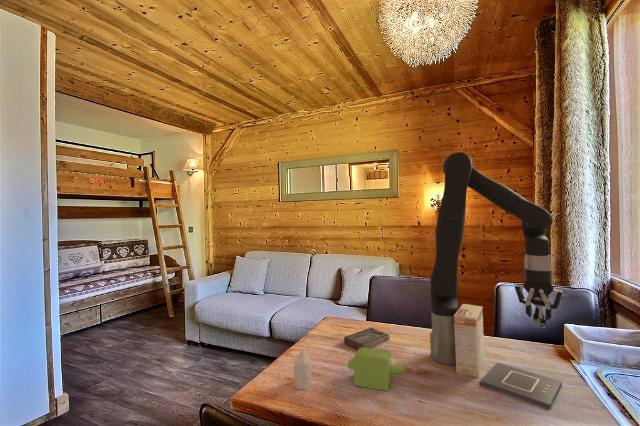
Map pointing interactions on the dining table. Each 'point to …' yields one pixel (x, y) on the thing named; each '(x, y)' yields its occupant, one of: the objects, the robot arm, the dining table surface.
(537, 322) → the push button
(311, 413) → the dining table surface
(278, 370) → the dining table surface
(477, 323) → the coffeecake box
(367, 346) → the box
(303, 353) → the squeeze bottle
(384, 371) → the gearbox
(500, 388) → the socket plate
